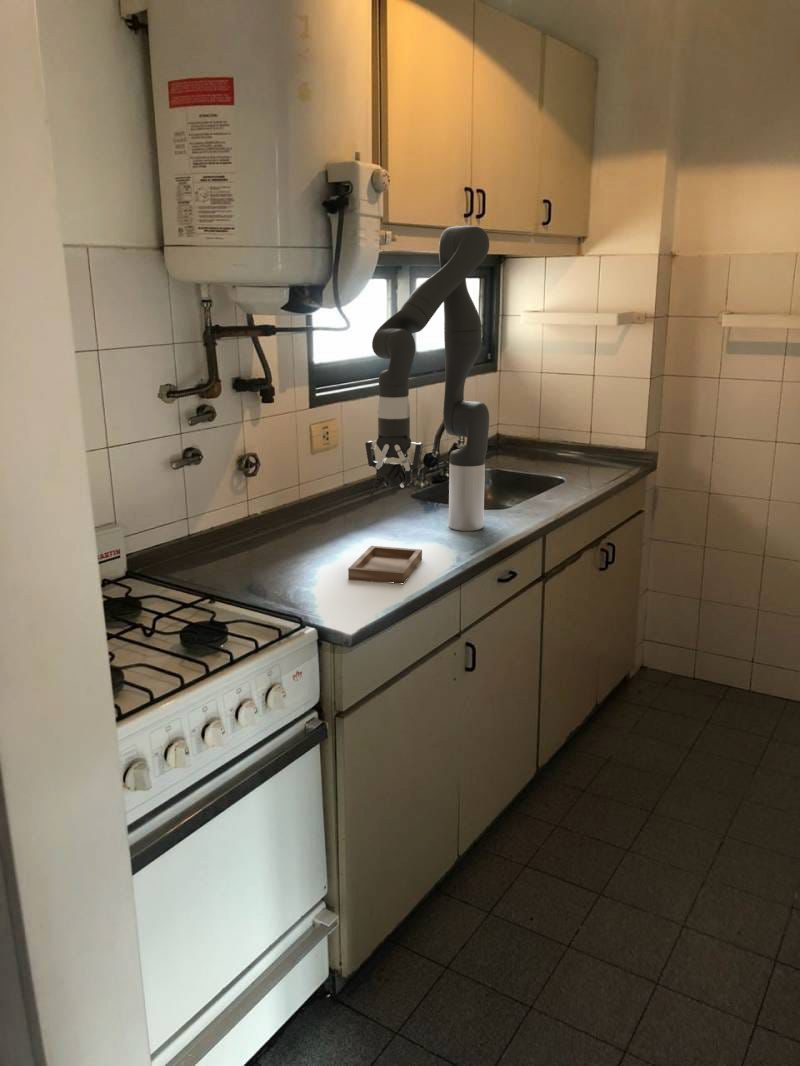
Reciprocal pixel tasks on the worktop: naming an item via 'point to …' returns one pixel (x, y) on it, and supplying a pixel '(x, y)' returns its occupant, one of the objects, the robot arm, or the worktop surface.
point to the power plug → (389, 476)
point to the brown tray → (385, 564)
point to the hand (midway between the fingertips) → (394, 484)
